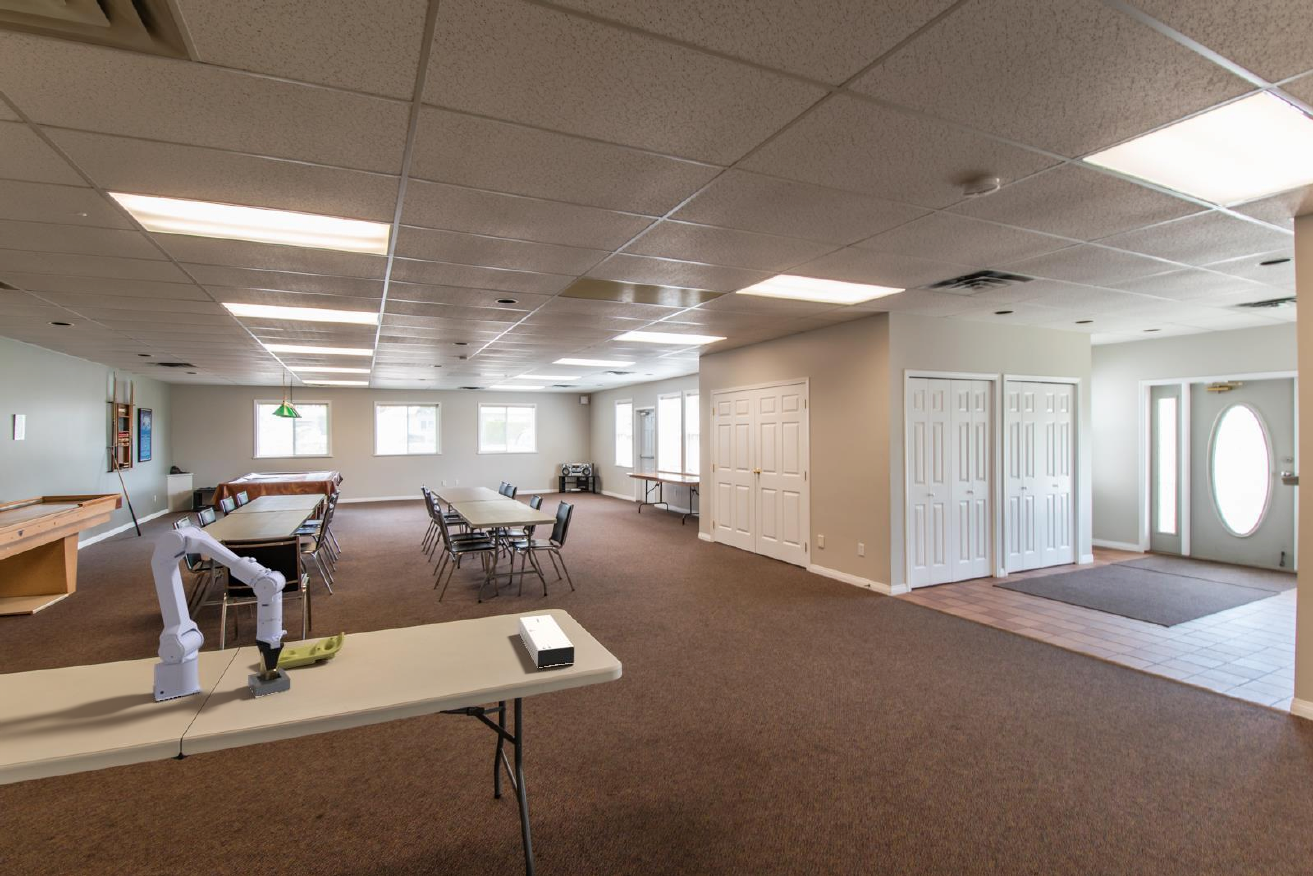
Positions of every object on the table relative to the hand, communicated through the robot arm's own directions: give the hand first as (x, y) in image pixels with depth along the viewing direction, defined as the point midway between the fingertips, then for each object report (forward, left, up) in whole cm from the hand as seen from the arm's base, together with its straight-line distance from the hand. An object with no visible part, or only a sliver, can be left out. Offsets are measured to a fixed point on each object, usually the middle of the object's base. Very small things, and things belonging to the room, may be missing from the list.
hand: (269, 667), depth 169 cm
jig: (0, 0, -6) cm, 6 cm away
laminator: (+74, -23, -6) cm, 78 cm away
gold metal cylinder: (0, 0, -3) cm, 3 cm away
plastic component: (+13, +15, -6) cm, 20 cm away
